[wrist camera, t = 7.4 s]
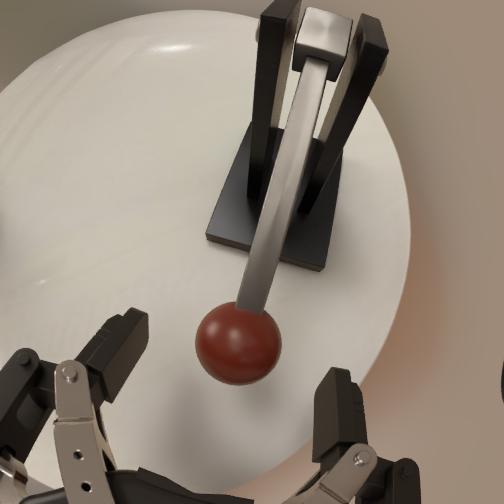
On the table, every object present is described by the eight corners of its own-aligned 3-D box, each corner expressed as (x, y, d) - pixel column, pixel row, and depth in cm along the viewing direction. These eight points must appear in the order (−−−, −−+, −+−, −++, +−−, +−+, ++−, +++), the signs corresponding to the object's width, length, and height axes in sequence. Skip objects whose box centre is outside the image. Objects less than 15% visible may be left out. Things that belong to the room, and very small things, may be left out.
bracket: (319, 272, 21) (456, 133, 6) (206, 240, 21) (161, 50, 6) (339, 155, 24) (404, 16, 10) (250, 130, 25) (262, -23, 10)
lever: (267, 368, 13) (266, 411, 9) (199, 348, 13) (177, 385, 10) (353, 55, 11) (371, 16, 7) (288, 37, 11) (291, -6, 8)
